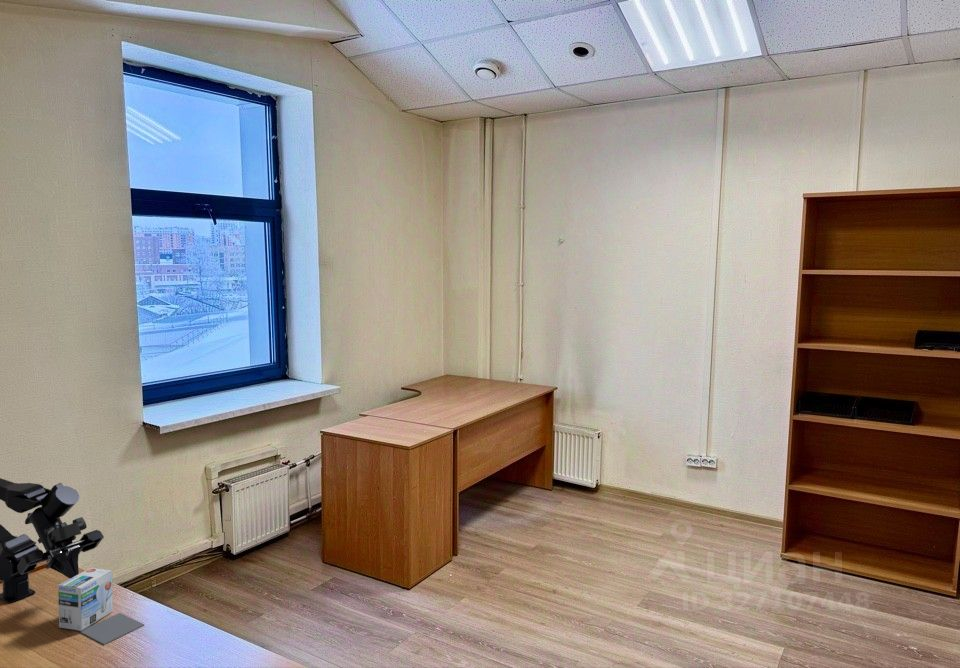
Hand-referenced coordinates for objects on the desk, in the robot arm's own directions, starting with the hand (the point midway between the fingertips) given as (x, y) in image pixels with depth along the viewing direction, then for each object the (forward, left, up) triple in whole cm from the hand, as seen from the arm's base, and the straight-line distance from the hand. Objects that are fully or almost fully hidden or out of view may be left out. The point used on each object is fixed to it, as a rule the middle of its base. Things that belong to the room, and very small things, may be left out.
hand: (76, 579), depth 167 cm
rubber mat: (+13, +1, -9) cm, 16 cm away
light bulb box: (+4, 0, -9) cm, 10 cm away
